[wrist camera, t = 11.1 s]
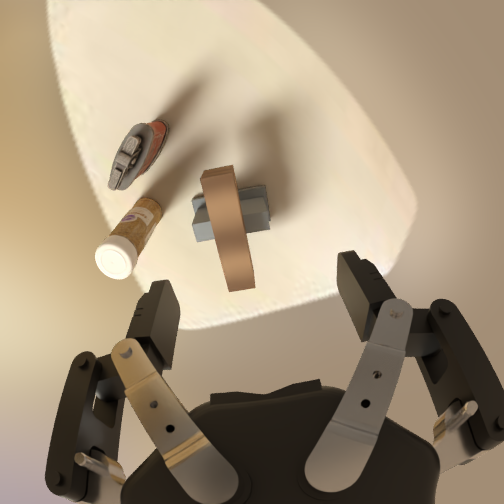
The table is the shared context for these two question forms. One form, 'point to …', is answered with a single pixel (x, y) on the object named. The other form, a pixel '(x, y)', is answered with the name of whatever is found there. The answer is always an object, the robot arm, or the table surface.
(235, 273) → the walnut bar
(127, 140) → the lighter
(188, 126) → the table surface
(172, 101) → the table surface
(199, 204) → the fulcrum
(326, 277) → the table surface
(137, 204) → the sprinkles bottle
